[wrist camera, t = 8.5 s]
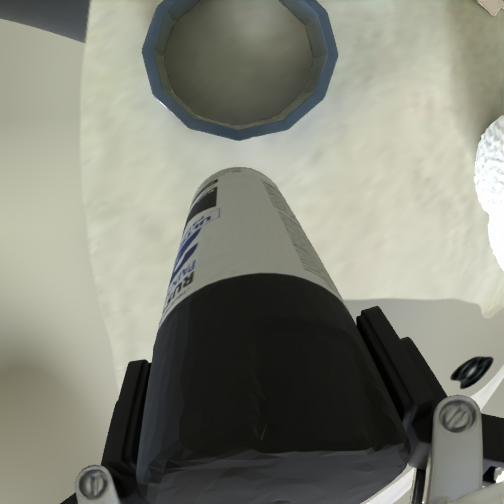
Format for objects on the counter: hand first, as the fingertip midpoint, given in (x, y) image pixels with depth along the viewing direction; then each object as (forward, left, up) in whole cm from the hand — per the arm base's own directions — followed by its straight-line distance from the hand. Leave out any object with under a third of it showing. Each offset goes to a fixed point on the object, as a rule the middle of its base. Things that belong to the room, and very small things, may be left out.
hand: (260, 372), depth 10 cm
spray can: (0, 0, -15) cm, 15 cm away
